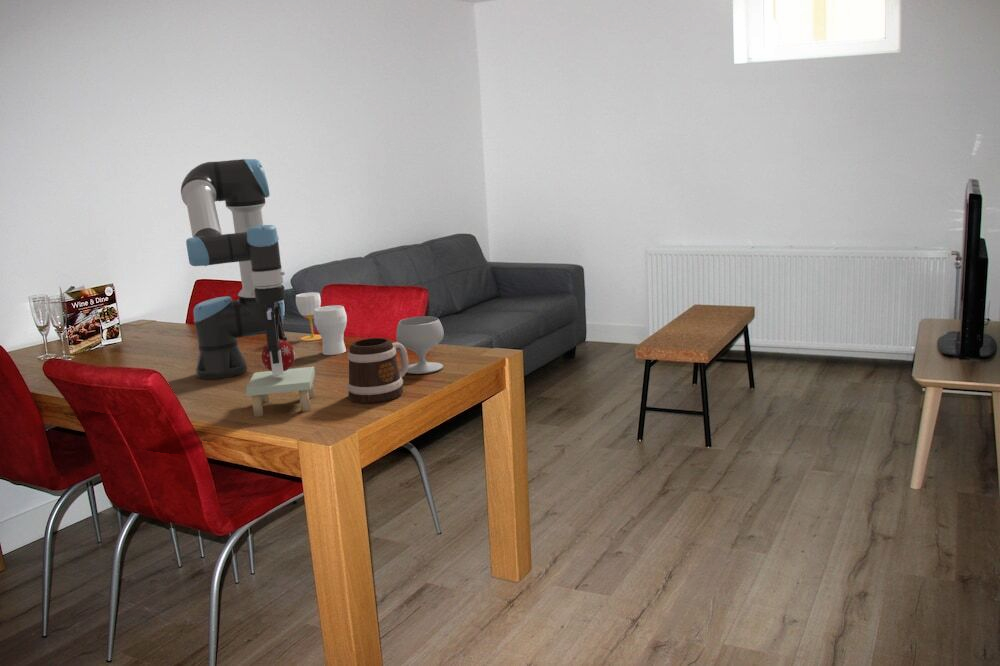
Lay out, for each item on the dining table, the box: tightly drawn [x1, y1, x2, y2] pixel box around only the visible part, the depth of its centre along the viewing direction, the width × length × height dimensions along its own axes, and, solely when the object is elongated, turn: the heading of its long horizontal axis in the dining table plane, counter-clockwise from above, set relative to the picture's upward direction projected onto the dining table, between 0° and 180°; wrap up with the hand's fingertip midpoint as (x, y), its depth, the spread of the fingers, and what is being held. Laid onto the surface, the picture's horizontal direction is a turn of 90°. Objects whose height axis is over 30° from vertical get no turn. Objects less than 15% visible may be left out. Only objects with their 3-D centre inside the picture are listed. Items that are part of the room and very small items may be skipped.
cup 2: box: [295, 291, 322, 342], centre depth 305 cm, size 9×9×16 cm
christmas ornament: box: [261, 340, 296, 372], centre depth 223 cm, size 9×9×10 cm
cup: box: [313, 304, 348, 356], centre depth 281 cm, size 11×11×15 cm
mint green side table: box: [245, 366, 316, 418], centre depth 225 cm, size 16×16×8 cm
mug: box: [346, 337, 409, 404], centre depth 230 cm, size 20×15×15 cm
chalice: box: [395, 315, 445, 375], centre depth 251 cm, size 14×14×15 cm
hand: (280, 370), depth 224 cm, fingers closed on christmas ornament, 9 cm apart
